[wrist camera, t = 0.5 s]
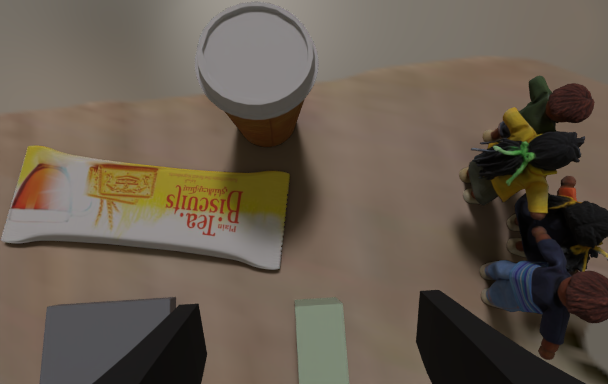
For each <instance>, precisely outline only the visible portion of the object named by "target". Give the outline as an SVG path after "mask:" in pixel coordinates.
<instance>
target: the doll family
mask: <svg viewBox="0 0 608 384" xmlns="http://www.w3.org/2000/svg"><path fill="white" fill-rule="evenodd" d="M529 91H530V99H531V101H532V102H530V103H529V104H528V105H527V106H526V107H525V108H524V109H522V110H521V111H518V110H517V109H516V108H511V109H508V110H507V111H506V112H505V113H504V115H503V122H501V123H500V124H499V126H498V128H497V129H496V130H487V131H485V132H484V133H483V140H484V141H485V142H482V143H480V144H489V145H488V149H487V150H484V149H477V148H471V150H476V151H482V152H483V153H481V154H479V155H477V156H475V158H474V160H472V161H471V162H470V164H469V167H467V168H464V169H462V170H461V171H460V173H459V177H460V179H461V180H462V181H463V182H465V183H471V185H472V188H469V189H466V190H465V191H464V192H463V197H464V199H465V201H466V202H468V203H475V204H481V205H485V204H487V203H489V202H490V201H492V200H493V199H495V198H497V197H498V196H499V197H500V198H501V199H502V202H505V201H506V200H508V199H509V198H510V197H511V196H512V195H514V194H515V193H517V192H518V191H520V190H522V189H526V193H525V194H524V195H523V196H522V197H520V198H519V199H518V200H517V202H516V204H515V212H516V214H514V215H512V216H511V217H510V218H508V220H507V225H508V227H509V229H511V230H512V231H520V234H521V238H512V239H509V240H508V242H507V249H508V250H509V251H510V252H511V253H513V254H516V255H519V256H522V257H526V258H527V260H528V261H520V262H518V263H513V262H510V261H507V260H501V261H494V262H490V263H487V264H484V265H482V266H481V267H480V274H481V276H482V277H483V278H484V279H487V280H495V281H496V282H494V283H493V284H492V285H491V287H490V288H487V289H484V290H483V291H482V293H481V298H482V300H483V302H484V303H486V304H488V305H491V306H493V307H496V308H500V309H504V310H507V311H510V312H515V311H522V312H533V313H539V314H543V315H542V319H541V324H540V333H541V335H542V336H543V340H542V343H541V345H542V346H540V348H539V350H538V352H539V354H540V356H541V357H542V358H544V359H547V360H550V359H553V358H554V355H555V352H556V351H557V350H558V348H559V345H561V344H563V343H564V336H565V332H566V328H567V324H568V321H569V317H570V313H571V314H575V315H576V316H578V317H580V318H581V319H583V320H585V321H587V322H589V323H599V322H603V321H605V320H607V319H608V279H607V278H606V277H605V276H603V275H601V274H599V273H597V272H594V271H585V269H587V263H588V260H589V259H590V257H589V254H590V256H591V257H595V258H597V257H598V253H599V254H602V255H604V256H605V257H606V258H607V260H608V253H605V251H604V250H602V249H601V248H600V247H597V246H599V245H601V244H603V243H602V240H603V239H604V238H606V237H608V211H607V210H606V209H605V208H602V207H599V206H598V205H596V204H594V203H590V202H588V201H584V202H577V200H576V189H575V188H574V186H575V184H576V180H575V178H574V177H572V176H566V177H564V178H563V179H562V180H561V187H560V188H559V189H558V191H557V196H555V195H550V194H549V193H548V189H549V186H548V184H547V181H546V176H547V175H551V174H557V171H556V169H559V168H562V167H564V166H566V165H568V164H569V163H570V162H571V161H573V162H579V161H580V160H579V159H578V158H580V157H581V153H580V149H579V147H580V146H581V145H582V144H583V143H584V140H585V136H584V137H581V138H577V133H576V132H569V133H568V132H559V131H556V130H555V126H556V123H558V122H571V123H579V122H582V121H583V120H585V119H587V118H588V117H589V115H590V114H591V113H592V110H593V108H594V100H593V99H592V97H591V93H590V92H589V91H588V90H587V88H586V87H584V86H583V85H579V84H576V83H573V84H567V85H565V86H563V87H560V88H558V89H555V90H554V91H553V93H552V92H551V91H550V89H549V88H548V86H547V83H546V81H545V79H544V77H543V76H537V77H535V78H533V79H532V80H530V81H529ZM578 270H579V271H580V272H579V271H578Z"/></svg>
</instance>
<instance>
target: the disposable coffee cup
mask: <svg viewBox="0 0 608 384" xmlns="http://www.w3.org/2000/svg"><path fill="white" fill-rule="evenodd" d="M195 71H196V75H197V80H198V82H199V84H200V87H201V89H202V90H203V92H204V94H205V95H206V96H207V97H208V99H209V100H210V101H211V102H213V103H214V104H215V105H216V106H217V107H219V108H220V109H221V110H223V111H224V112H225V113H226V114H227V115H228V116H229V118H230V119H231V120H232V121H233V123H234V124H235V125H236V126H237V128H238V129H239V130H240V131H241V133H242V134H243V135H244V137H245V138H246V139H247V140H248V141H250V142H251V143H253V144H255V145H258V146H262V147H272V146H276V145H279V144H281V143H283V142H284V141H286V140H287V139H288V138H289V137H290V136H291V134H292V133H293V131H294V128H295V125H296V122H297V119H298V116H299V113H300V111H301V108H302V105H303V102H304V99H305V98H306V96H307V95H308V93H309V92H310V91H311V89H312V87H313V85H314V83H315V80H316V77H317V73H318V54H317V50H316V47H315V44H314V42H313V40H312V38H311V37H310V35H309V33H308V31H307V29H306V28H305V26H304V24H303V23H301V21H299V19H298V18H297V17H296V16H295V15H293V14H292V13H291V12H289V11H288V10H286V9H284V8H282V7H280V6H277V5H274V4H271V3H264V2H247V3H240V4H237V5H235V6H232V7H229V8H226V9H225V10H223V11H222V12H220V13H219V14H217V15H216V16H215V17H213V18H212V19H211V20H210V22H209V23H208V24H207V25H206V27H205V28H204V29H203V31H202V34H201V35H200V38H199V42H198V46H197V52H196V57H195Z"/></svg>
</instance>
